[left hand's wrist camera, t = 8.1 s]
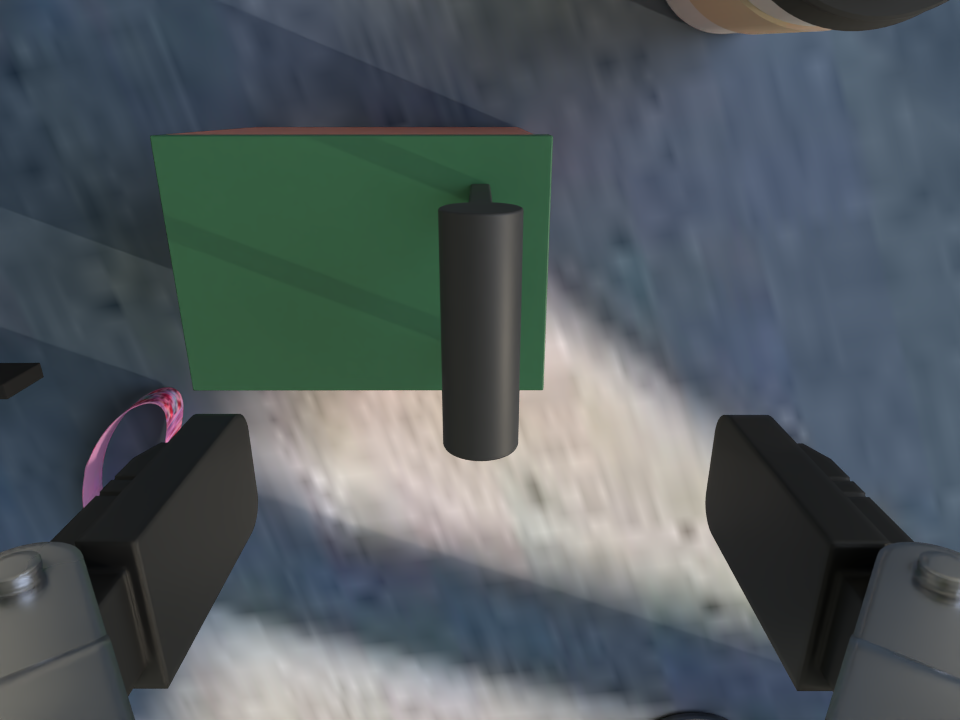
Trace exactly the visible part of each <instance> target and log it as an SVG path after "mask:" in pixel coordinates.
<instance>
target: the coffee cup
mask: <svg viewBox="0 0 960 720" xmlns="http://www.w3.org/2000/svg"><path fill="white" fill-rule="evenodd" d="M666 1H667V3H668V5H669V6H670V7H671V9H672V10H673V11H674V12H675V14H676V15H677V16H678V17H679V18H681V19H682V20H683V21H684V22H686V23H687V24H689V25H690V26H692V27H694V28H696V29H698V30H701V31H704V32H708V33H715V34H728V33H743V34H771V33H791V32H811V31H827V30H840V31H863V30H872V29H878V28H883V27H887V26H891V25H894V24H897V23H900V22H903V21H906V20H908V19H910V18H913V17H915V16H917V15H919V14H921V13H923V12H925V11H927V10H930V9H932V8H935V7H937V6H939V5H941V4H943V3H945V2H947V1H949V0H666Z"/></svg>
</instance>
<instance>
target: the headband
mask: <svg viewBox="0 0 960 720" xmlns="http://www.w3.org/2000/svg"><path fill="white" fill-rule="evenodd" d="M148 403H152V404H157V405H159V406H160V407H161V408H162V409H163V410H164V412H165V415H166V421H167V431H166V439H165V442H168V441H169V440H170V439H171V438H172V437H173V436H174V435H175V434H176V433H177V432H178V431H179V430H180V428H181V424H182V417H183V400H182V397H181V395H180V393H179V392H178V391H177V390H176V389H174V388H170V387H165V388H160V389H157V390H154V391H152V392H150V393H148V394H147V395H145V396H143V397H142V398H141V399H139V400H138V401H137V402H136V403H135V404H133V405H132V406H131V407H130V408H129V409H128V410H126V411H125V412H124V413H123V414H122V415H120V416H119V417H118V418H117V419H116V420H115V421H114V422H113V423H112V424H111V425H110V426H109V427H108V428H107V430H106V431H105V432H104V433H103V435H102V436H101V438H100V439H99V441H98V442H97V444H96V446H95V448H94V449H93V452H92V454H91V456H90V459H89V460H88V462H87V465H86V468H85V472H84V474H85V475H84V481H83V494H82V497H83V508H84V507H85V506H86V505H87V504H88V503H89V502H90V501H91V500H92V499H93V498H94V497H95V496H99V495H100V491H101V490H102V489H103V487H102V468H103V461H104V456H105V452H106V449H107V446H108V443H109V441H110V438H111V436H112V434H113V432H114V430H115V428H116V427H117V425H118V424H119V422H120V421H121V419H122V418H123V417H124V415H125V414H126V413H127V412H128V411H129V410H131V409H133V408H134V407H137V406H139V405H142V404H148Z"/></svg>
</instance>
